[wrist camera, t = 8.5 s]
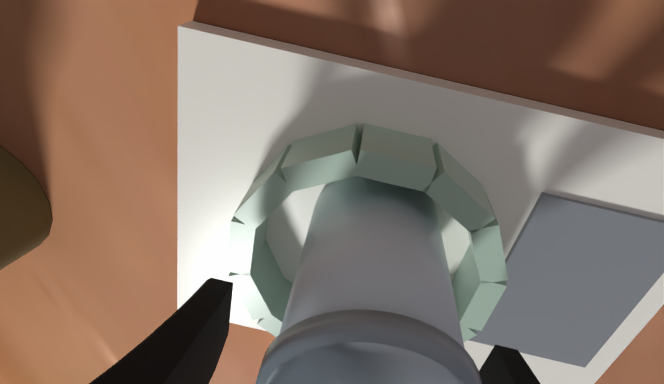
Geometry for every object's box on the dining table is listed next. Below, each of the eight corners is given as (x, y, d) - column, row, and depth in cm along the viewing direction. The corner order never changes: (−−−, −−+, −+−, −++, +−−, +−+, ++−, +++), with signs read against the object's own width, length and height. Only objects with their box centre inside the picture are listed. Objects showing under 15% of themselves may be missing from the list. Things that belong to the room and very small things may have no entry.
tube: (466, 185, 13) (533, 374, 7) (415, 289, 16) (434, 494, 10) (324, 146, 13) (275, 306, 7) (295, 256, 16) (239, 445, 10)
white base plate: (757, 152, 13) (850, 203, 10) (567, 383, 19) (595, 451, 16) (192, 21, 13) (142, 37, 10) (186, 293, 19) (155, 347, 16)
